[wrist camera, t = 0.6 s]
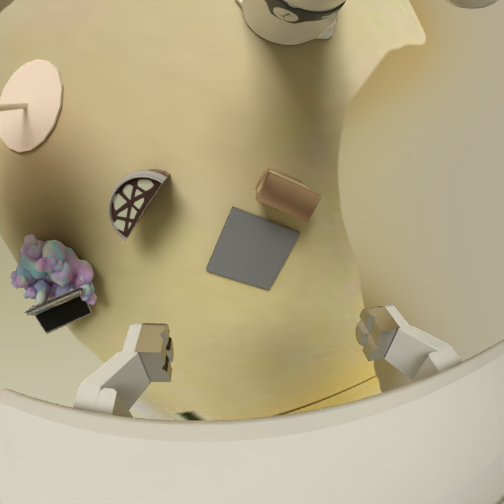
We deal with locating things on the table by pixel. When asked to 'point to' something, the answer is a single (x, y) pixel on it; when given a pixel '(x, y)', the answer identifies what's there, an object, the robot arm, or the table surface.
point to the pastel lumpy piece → (54, 282)
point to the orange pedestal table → (30, 105)
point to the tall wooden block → (286, 194)
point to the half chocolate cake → (133, 199)
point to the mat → (251, 249)
